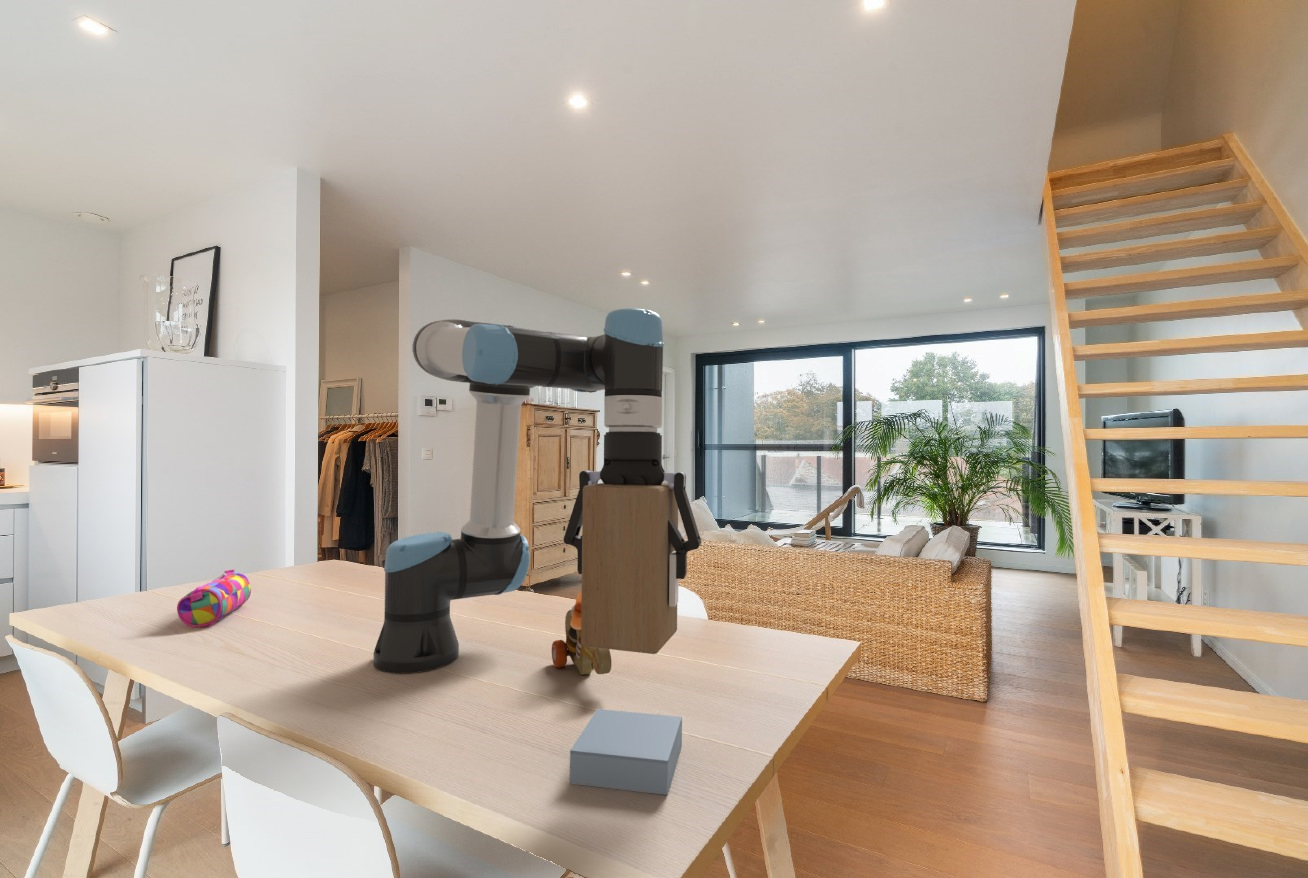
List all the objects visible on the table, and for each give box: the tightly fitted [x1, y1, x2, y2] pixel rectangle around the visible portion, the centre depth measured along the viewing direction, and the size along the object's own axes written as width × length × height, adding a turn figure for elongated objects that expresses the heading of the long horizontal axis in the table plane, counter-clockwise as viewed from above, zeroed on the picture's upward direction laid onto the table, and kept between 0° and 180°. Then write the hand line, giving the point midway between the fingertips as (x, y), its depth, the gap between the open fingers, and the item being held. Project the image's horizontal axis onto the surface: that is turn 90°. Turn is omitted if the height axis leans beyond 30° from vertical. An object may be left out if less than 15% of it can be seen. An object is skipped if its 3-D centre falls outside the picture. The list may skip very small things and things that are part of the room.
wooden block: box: [581, 482, 679, 655], centre depth 79 cm, size 10×10×20 cm
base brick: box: [569, 708, 683, 796], centre depth 79 cm, size 12×12×4 cm
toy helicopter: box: [551, 590, 612, 676], centre depth 109 cm, size 8×21×14 cm, turn 24°
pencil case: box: [176, 569, 252, 628], centre depth 144 cm, size 22×9×9 cm, turn 20°
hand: (631, 601), depth 79 cm, fingers closed on wooden block, 10 cm apart
